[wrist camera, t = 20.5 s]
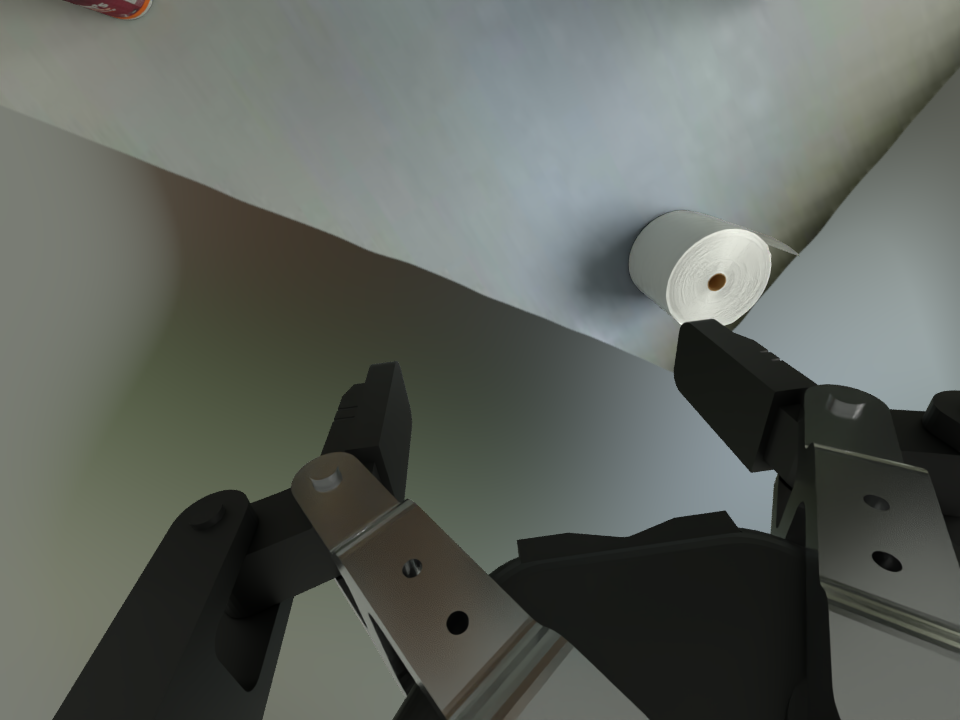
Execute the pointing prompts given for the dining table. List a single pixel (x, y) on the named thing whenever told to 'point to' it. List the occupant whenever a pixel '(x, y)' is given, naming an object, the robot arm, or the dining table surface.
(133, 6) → the pill bottle
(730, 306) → the toilet tissue
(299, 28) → the dining table surface
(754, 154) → the dining table surface
